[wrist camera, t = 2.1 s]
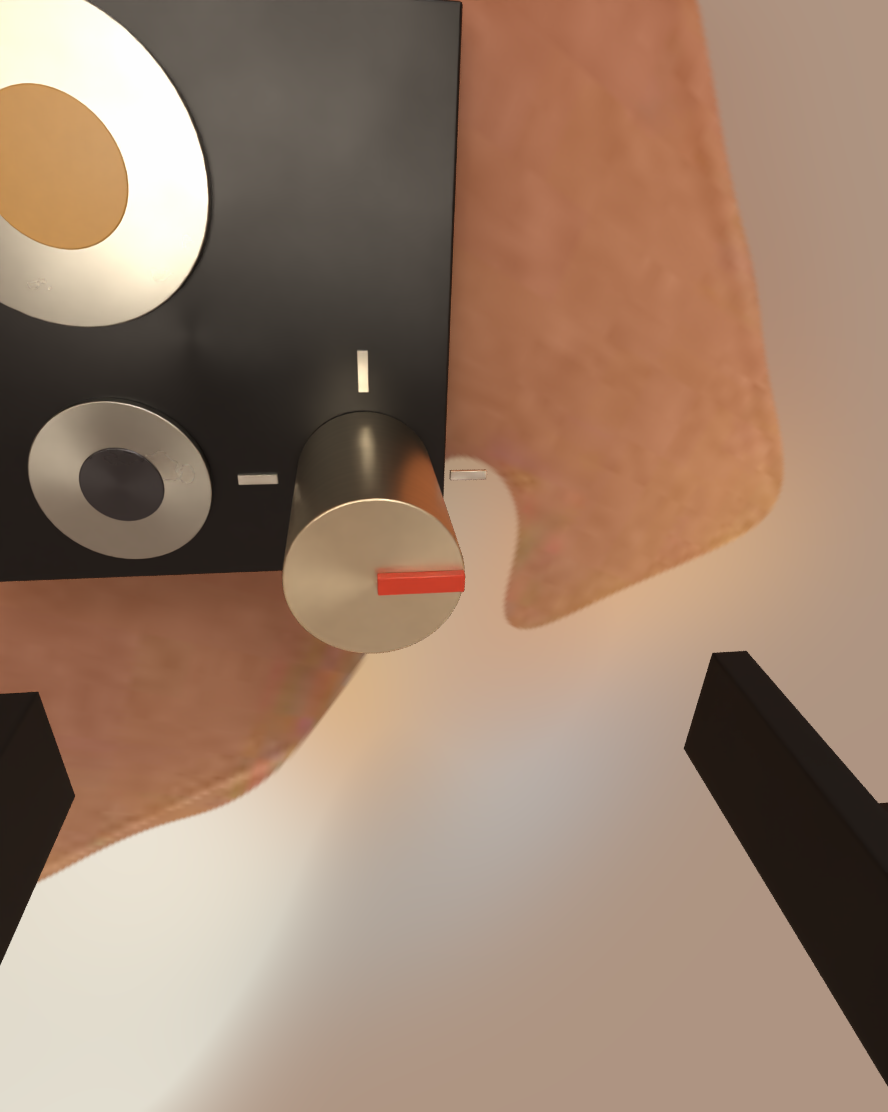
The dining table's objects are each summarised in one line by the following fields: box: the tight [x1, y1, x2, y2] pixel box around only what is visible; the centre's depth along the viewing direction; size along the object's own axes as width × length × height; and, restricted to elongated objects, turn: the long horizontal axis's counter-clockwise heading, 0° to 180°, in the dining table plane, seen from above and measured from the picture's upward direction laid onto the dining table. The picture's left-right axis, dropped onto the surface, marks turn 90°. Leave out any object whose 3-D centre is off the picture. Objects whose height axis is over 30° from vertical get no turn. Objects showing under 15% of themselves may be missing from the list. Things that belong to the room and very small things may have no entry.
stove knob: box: [282, 412, 465, 653], centre depth 21 cm, size 5×5×8 cm
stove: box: [0, 0, 487, 582], centre depth 22 cm, size 19×19×3 cm
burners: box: [0, 0, 214, 559], centre depth 20 cm, size 8×17×1 cm, turn 178°
